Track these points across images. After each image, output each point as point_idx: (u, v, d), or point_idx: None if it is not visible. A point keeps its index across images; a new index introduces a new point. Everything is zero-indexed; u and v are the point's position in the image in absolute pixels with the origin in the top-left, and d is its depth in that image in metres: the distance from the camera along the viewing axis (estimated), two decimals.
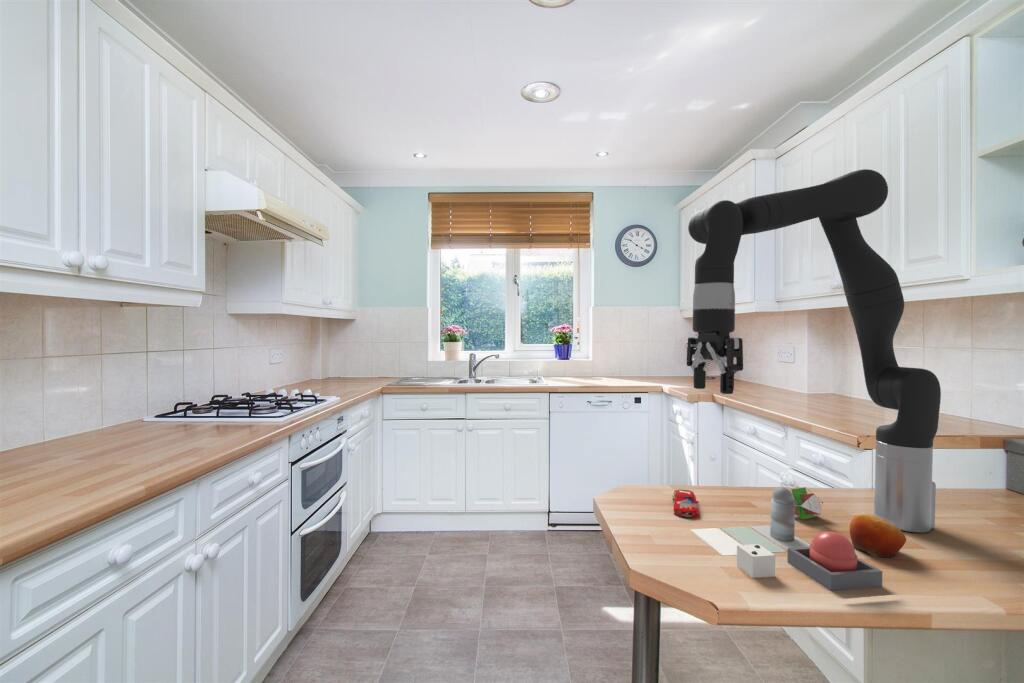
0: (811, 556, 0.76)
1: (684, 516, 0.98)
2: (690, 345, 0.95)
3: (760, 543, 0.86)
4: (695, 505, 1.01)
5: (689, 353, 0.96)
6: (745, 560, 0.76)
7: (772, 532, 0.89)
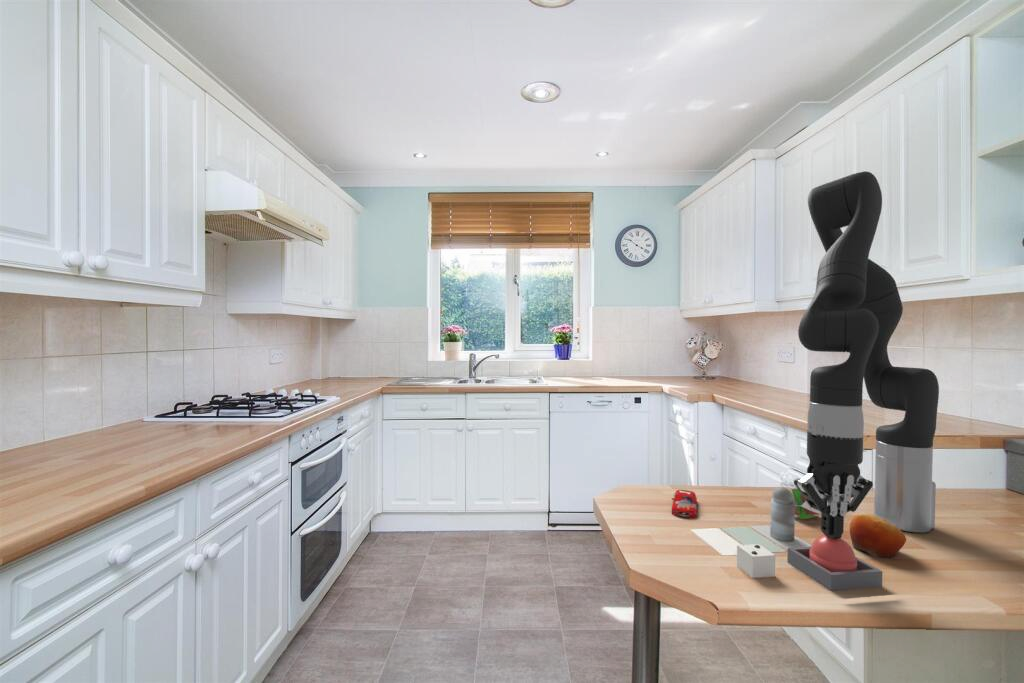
0: None
1: (681, 516, 0.99)
2: (814, 489, 0.74)
3: (760, 543, 0.86)
4: (693, 505, 1.01)
5: (818, 498, 0.74)
6: (745, 560, 0.76)
7: (772, 532, 0.89)
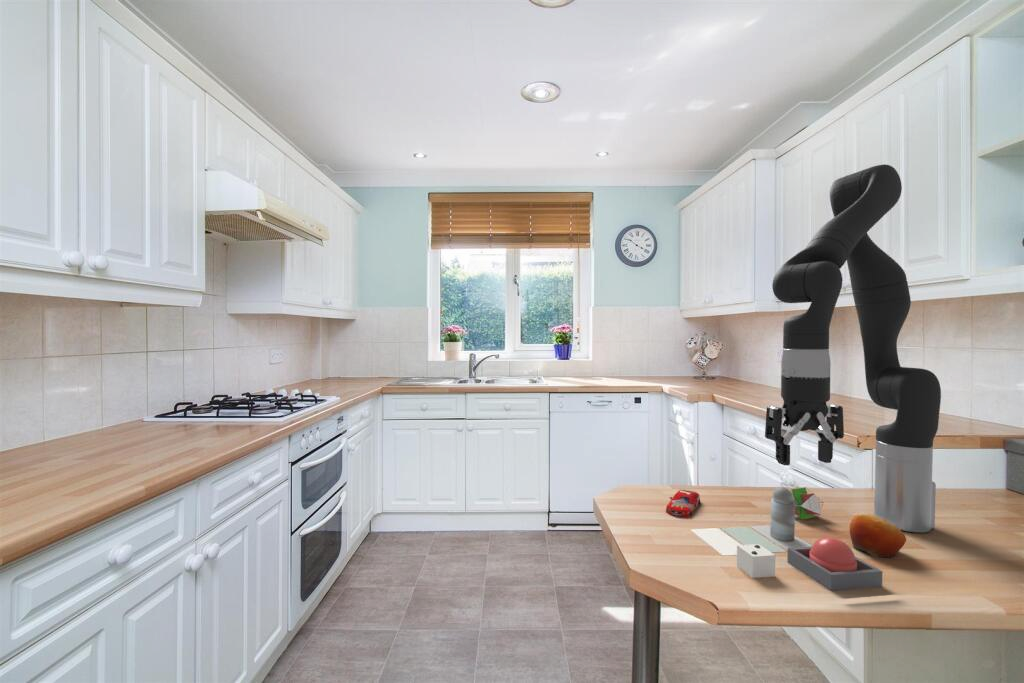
0: None
1: (673, 514, 0.99)
2: (781, 417, 0.81)
3: (760, 543, 0.86)
4: (689, 505, 1.01)
5: (779, 426, 0.81)
6: (745, 560, 0.76)
7: (772, 532, 0.89)
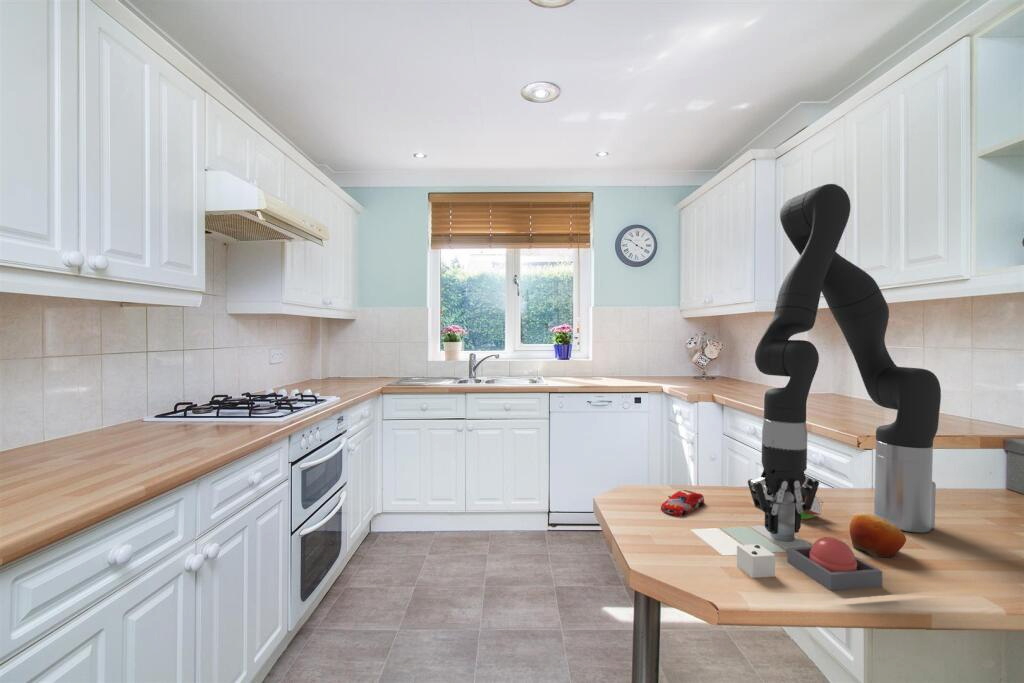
0: None
1: (666, 512, 1.01)
2: (762, 489, 0.87)
3: (760, 543, 0.86)
4: (684, 505, 1.01)
5: (764, 498, 0.87)
6: (745, 560, 0.76)
7: None
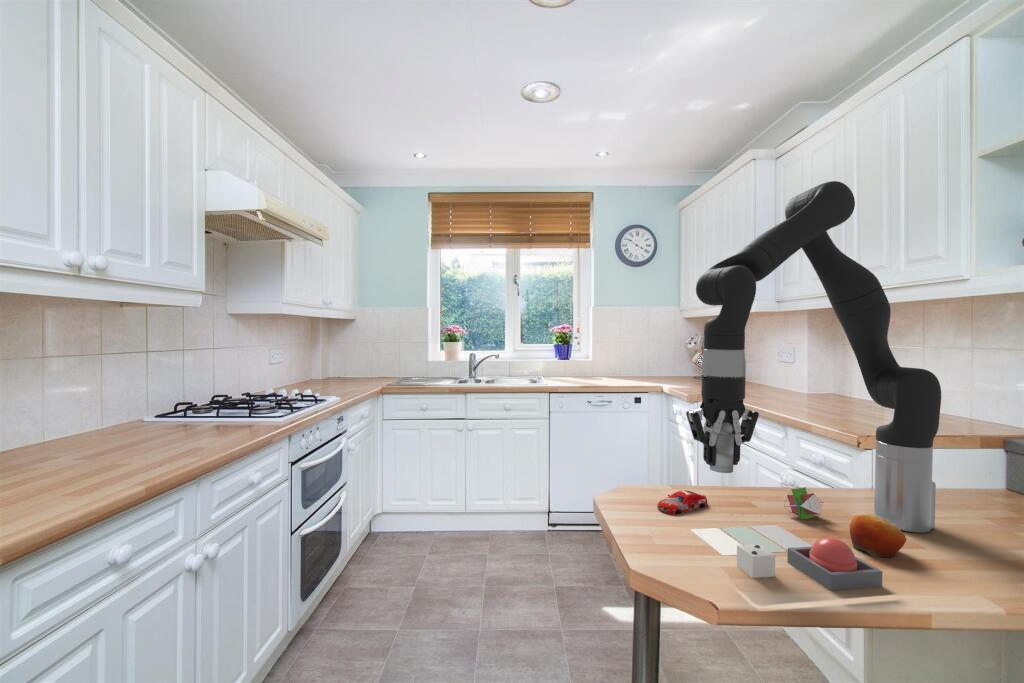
0: None
1: (660, 510, 1.02)
2: (700, 419, 0.85)
3: (760, 543, 0.86)
4: (679, 504, 1.01)
5: (701, 428, 0.85)
6: (745, 560, 0.76)
7: None
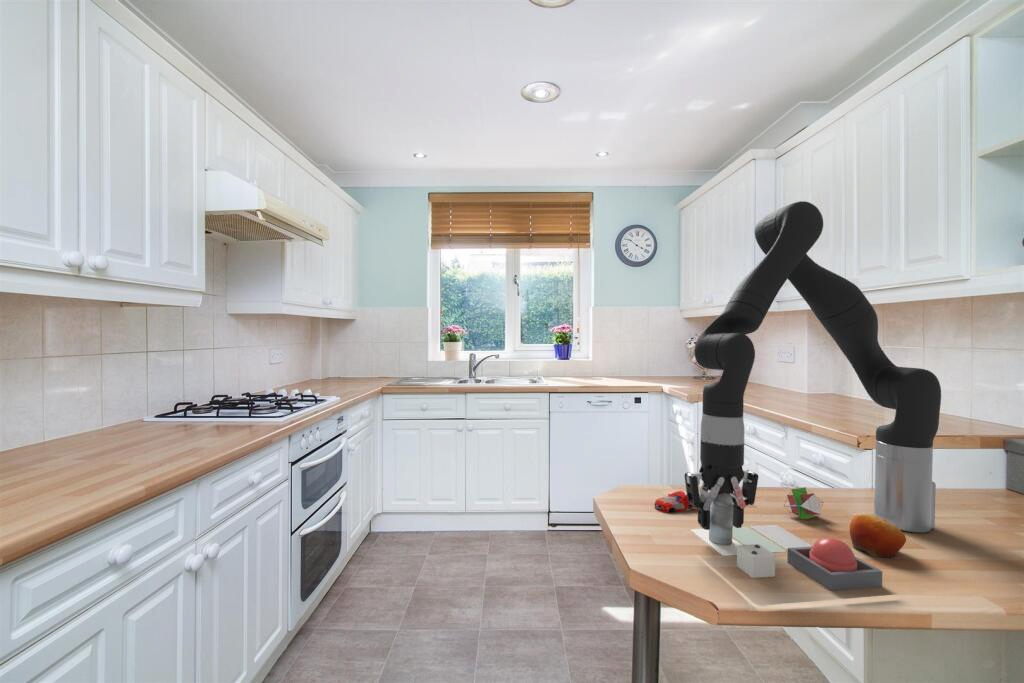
0: None
1: (655, 507, 1.03)
2: (697, 484, 0.85)
3: (760, 543, 0.86)
4: (674, 503, 1.02)
5: (697, 493, 0.85)
6: (745, 560, 0.76)
7: (710, 535, 0.87)
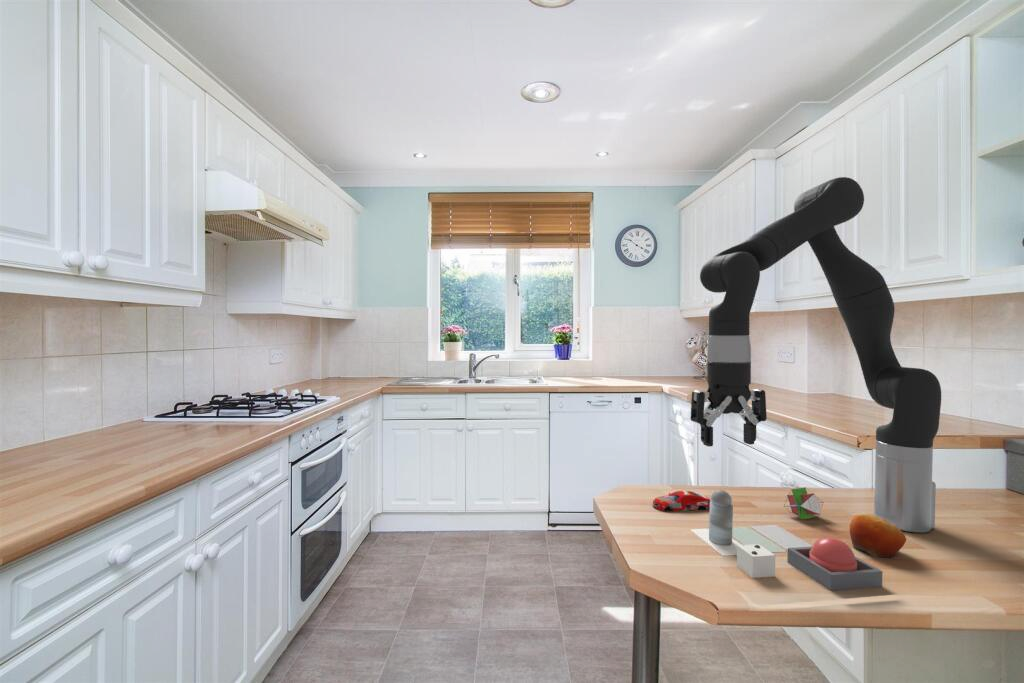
0: None
1: (653, 505, 1.05)
2: (704, 400, 0.86)
3: (760, 543, 0.86)
4: (671, 502, 1.03)
5: (702, 409, 0.86)
6: (745, 560, 0.76)
7: (710, 535, 0.87)
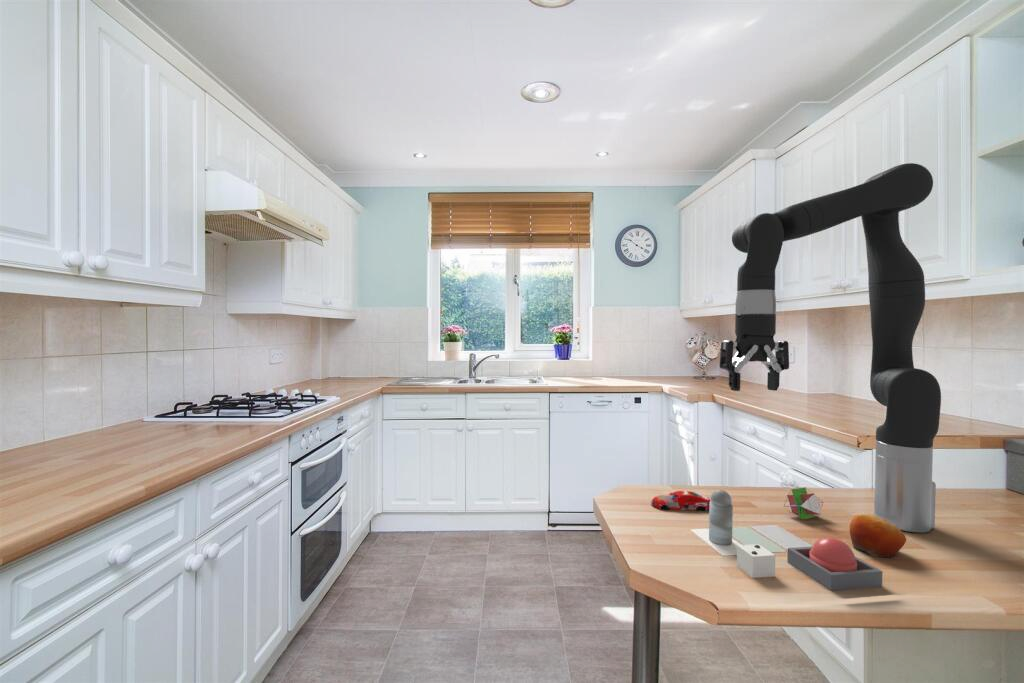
0: None
1: (651, 503, 1.06)
2: (732, 348, 0.95)
3: (760, 543, 0.86)
4: (668, 501, 1.03)
5: (731, 356, 0.94)
6: (745, 560, 0.76)
7: (710, 535, 0.87)
